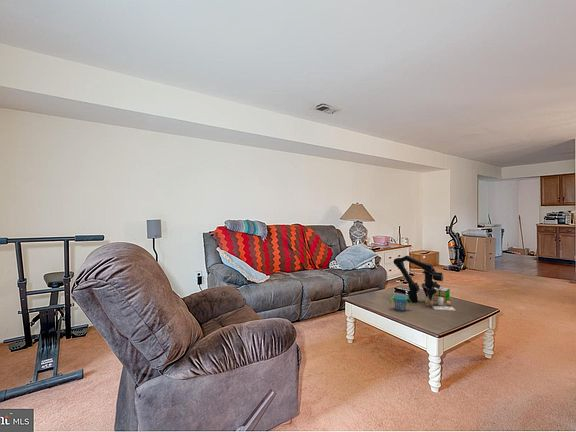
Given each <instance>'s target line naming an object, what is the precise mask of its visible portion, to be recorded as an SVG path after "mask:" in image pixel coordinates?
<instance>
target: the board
mask: <svg viewBox="0 0 576 432" xmlns="http://www.w3.org/2000/svg"><path fill="white" fill-rule="evenodd" d="M431 308H432V309H433V310H434V311H450V312H456V310H457V309H455V308H454V307H453V306H444V305H443V306H439V305H433V306H431Z"/></svg>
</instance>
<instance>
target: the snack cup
mask: <svg viewBox="0 0 576 432" xmlns="http://www.w3.org/2000/svg"><path fill="white" fill-rule="evenodd" d="M408 299H409V298H408V296H406V295H403V294H395V295H393V296H392V297H391V298H390V299H389V304H390V305H392V300H393V302H394V309H395V310H396V311H399V312H402V311H404V312H405V311H406V309H407V303H408ZM409 300H410V299H409ZM409 307H412V302H411V300H410V302H409Z"/></svg>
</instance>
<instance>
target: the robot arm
mask: <svg viewBox="0 0 576 432" xmlns="http://www.w3.org/2000/svg"><path fill="white" fill-rule="evenodd" d="M405 262H409V263H411V264H413V265H415V266H417V267H420V269H422V270H423V271H422V272H421V274H424V280H423V282H424V283H423V282H422V283H421V288H422V290H423V292H424V294H425V296H428V297H429V299H430V300H431V299H432V298H433V295H434V293H436V290H435V289H434V288H438V289H439V288H440V287H441V285H440V284H439V283H438V282H443V281H444V275H443V272H437V271H436V269H435V268H434V265H433V264H431V263H428V262H424V261H420V260H418V259H417V258H414V257H412V256H410V255H405V256H403V257H397V258H394V259H393V264H394V266H396V268H398V269H399V271H400V272H401V274H402V276H403V278H404V279H405V281H406V282H407V285H408V289H409V290H408V291H407V292H406V293H407V297H408V298H409V299H410V300H411V303H418V294H417V293H418V292H420V285H419V284H418V282H415V281H414V280H413V279H412V277H411V275H410V273H409V272H408V269H406V267H405V264H404V263H405ZM409 299H408V300H407V302H408V303H410V300H409Z"/></svg>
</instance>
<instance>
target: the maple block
mask: <svg viewBox="0 0 576 432" xmlns="http://www.w3.org/2000/svg"><path fill="white" fill-rule="evenodd" d="M424 304H425V305H426V306H431V307H432V306H434V300H433V297H432V299H431V300H430V299H429V297H428V296H426V295H425V296H424Z"/></svg>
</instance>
